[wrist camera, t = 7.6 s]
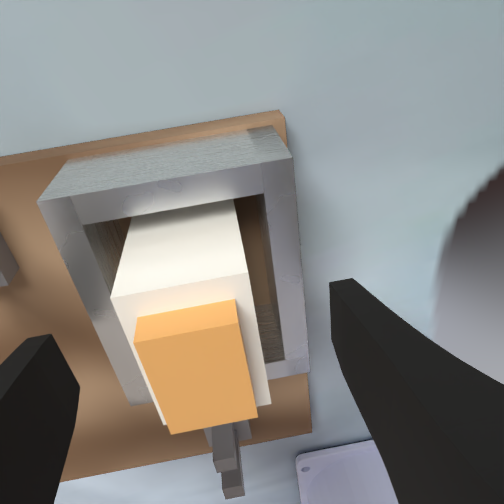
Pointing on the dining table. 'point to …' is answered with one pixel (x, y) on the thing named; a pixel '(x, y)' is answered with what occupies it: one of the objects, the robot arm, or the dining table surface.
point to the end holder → (172, 197)
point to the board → (83, 332)
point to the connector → (192, 316)
